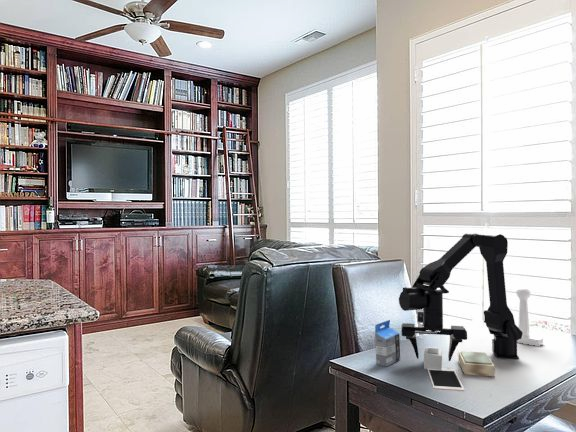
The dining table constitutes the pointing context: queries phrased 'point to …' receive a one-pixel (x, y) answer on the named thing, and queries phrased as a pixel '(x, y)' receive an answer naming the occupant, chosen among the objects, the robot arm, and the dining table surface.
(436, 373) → the cell phone
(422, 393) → the dining table surface
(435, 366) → the box
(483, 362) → the stand
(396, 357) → the label tape box
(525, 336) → the joystick
